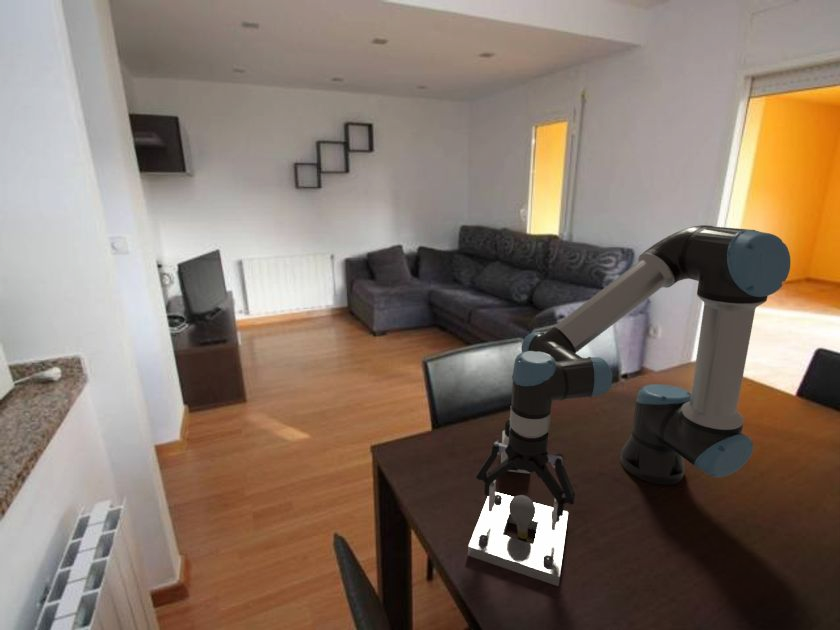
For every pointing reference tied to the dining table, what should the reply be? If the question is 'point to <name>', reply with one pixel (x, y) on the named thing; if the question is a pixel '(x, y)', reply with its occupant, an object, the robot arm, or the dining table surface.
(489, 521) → the flange
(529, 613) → the dining table surface
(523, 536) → the light bulb
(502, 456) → the container
